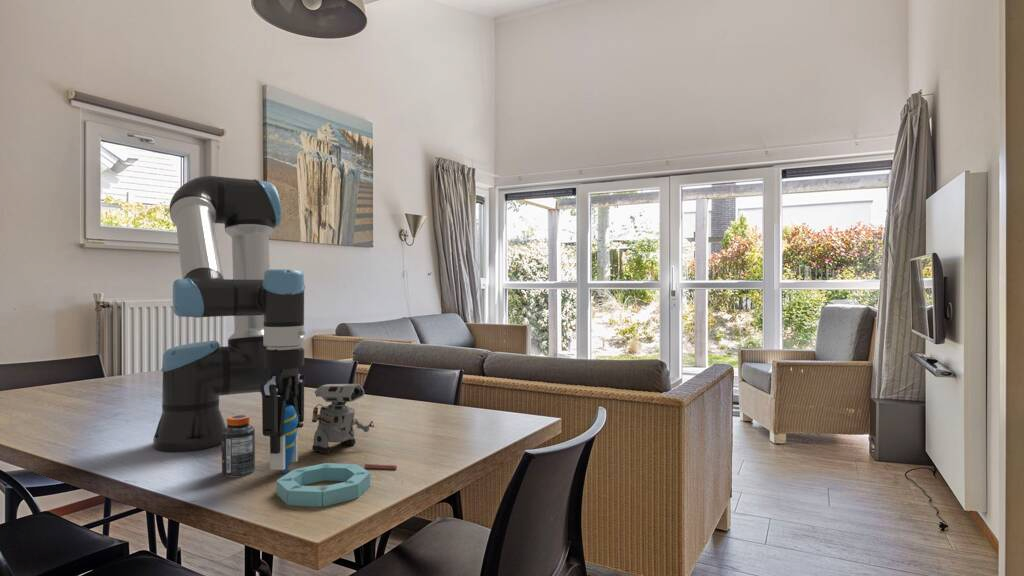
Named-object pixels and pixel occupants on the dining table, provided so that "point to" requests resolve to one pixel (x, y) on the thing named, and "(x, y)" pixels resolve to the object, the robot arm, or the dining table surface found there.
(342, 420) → the figurine
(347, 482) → the teal octagonal ring
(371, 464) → the reddish pink rod
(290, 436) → the ornament
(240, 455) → the pill bottle
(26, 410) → the dining table surface
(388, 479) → the dining table surface
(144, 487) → the dining table surface
